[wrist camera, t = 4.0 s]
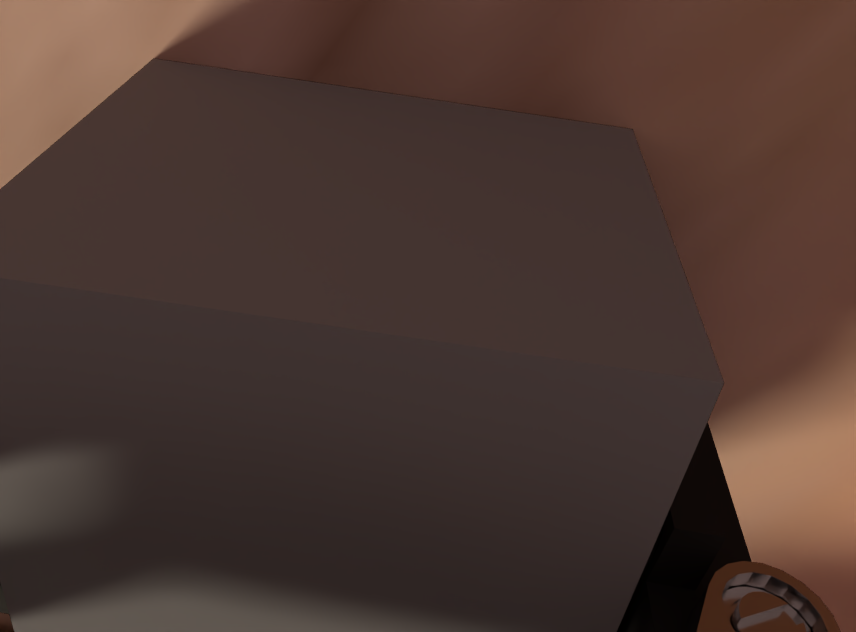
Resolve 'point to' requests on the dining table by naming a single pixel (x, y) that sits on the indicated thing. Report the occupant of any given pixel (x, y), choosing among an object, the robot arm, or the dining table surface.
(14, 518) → the block
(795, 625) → the robot arm
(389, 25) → the dining table surface
